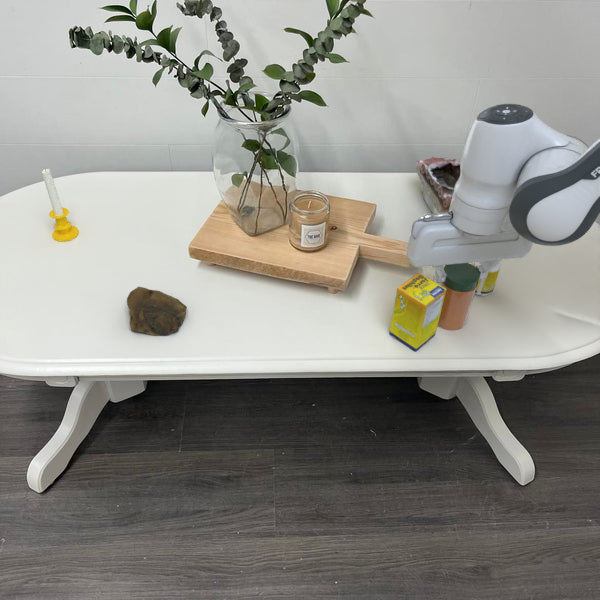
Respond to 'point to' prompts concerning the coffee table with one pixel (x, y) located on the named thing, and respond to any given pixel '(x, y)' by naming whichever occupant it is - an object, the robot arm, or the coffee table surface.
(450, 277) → the lid
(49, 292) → the coffee table surface
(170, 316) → the decorative stone
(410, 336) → the supplement box
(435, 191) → the decorative box
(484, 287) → the supplement bottle
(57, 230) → the candle
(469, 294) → the jar
